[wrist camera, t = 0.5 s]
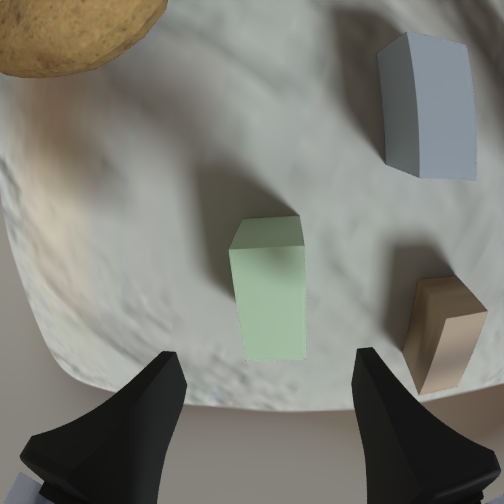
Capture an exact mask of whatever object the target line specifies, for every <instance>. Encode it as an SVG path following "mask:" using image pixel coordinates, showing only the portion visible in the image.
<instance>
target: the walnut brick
mask: <svg viewBox="0 0 504 504" xmlns="http://www.w3.org/2000/svg"><path fill="white" fill-rule="evenodd" d="M487 313H488V310H487V309H486V308H485V307H484V306H483V305H482V303H481V302H480V301H479V300H478V299H477V298H476V297H475V296H474V294H473V293H472V292H471V291H470V290H469V289H468V288H467V287H466V286H465V285H464V283H463V282H462V281H461V280H460V279H459V278H458V277H457V276H448V277H438V278H428V279H418V282H417V288H416V294H415V299H414V304H413V309H412V314H411V319H410V323H409V328H408V332H407V336H406V340H405V344H404V348H403V352H402V354H403V356H404V358H405V361H406V363H407V366H408V368H409V371H410V373H411V376H412V378H413V381H414V384H415V386H416V389H417V392H418V394H419V395H424V394H428V393H433V392H437V391H441V390H445V389H449V388H453V387H457V386H458V384H459V382H460V380H461V378H462V376H463V374H464V371H465V369H466V367H467V365H468V362H469V360H470V358H471V356H472V353H473V351H474V348H475V346H476V343H477V341H478V338H479V336H480V333H481V330H482V327H483V325H484V322H485V319H486V316H487Z"/></svg>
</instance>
